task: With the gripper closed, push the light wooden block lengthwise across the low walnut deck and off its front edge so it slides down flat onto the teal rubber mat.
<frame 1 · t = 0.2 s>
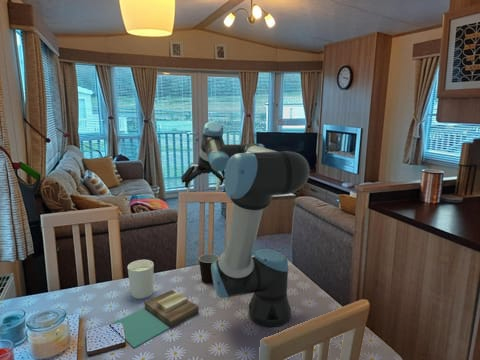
hand: (202, 190, 153), 35 cm above the table, tool tilted 35°, fingers open, 13 cm apart
deck: (171, 310, 122), on the table
coffee mug: (211, 278, 145), on the table
light wooden block: (172, 303, 122), point 2 cm above the table, touching deck
mat: (139, 326, 113), on the table
candle holder: (142, 293, 133), on the table
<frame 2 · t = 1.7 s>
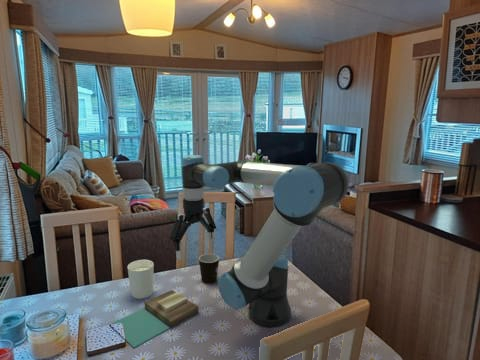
hand: (194, 252, 126), 19 cm above the table, tool pointing down, fingers open, 13 cm apart
nothing on the table moved.
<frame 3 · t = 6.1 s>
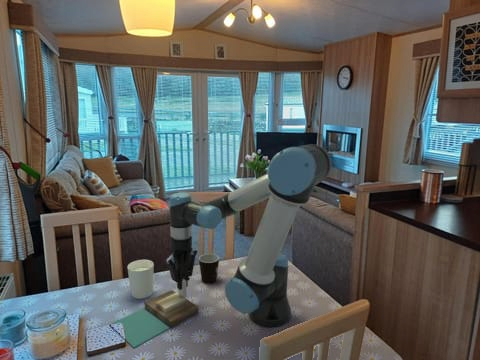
hand: (182, 295, 125), 4 cm above the table, tool pointing down, fingers closed
nothing on the table moved.
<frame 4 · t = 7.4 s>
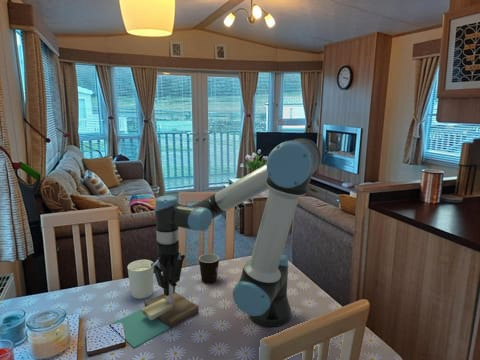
hand: (169, 302, 121), 4 cm above the table, tool pointing down, fingers closed
light wooden block: (157, 310, 118), point 3 cm above the table, touching gripper
everything else where it was.
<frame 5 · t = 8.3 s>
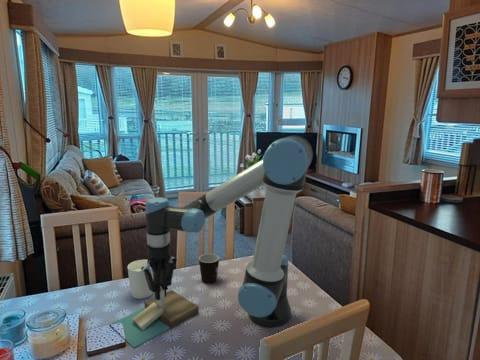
hand: (161, 306, 118), 4 cm above the table, tool pointing down, fingers closed
light wooden block: (149, 317, 115), point 2 cm above the table, tilted 16°, touching gripper
everything else where it was.
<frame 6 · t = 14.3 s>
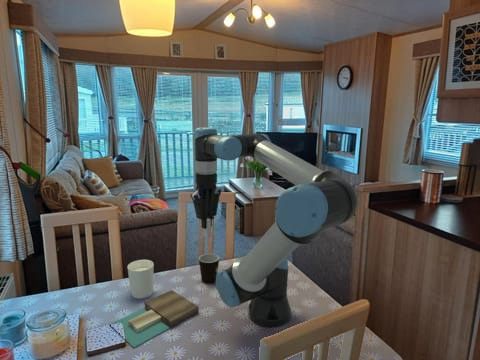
hand: (206, 235, 123), 26 cm above the table, tool pointing down, fingers closed
light wooden block: (145, 322, 114), resting on mat
everything else where it was.
at the end: light wooden block inside the target area (2.8 cm from its centre), resting on mat; light wooden block tilted 0°; light wooden block touching mat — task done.
